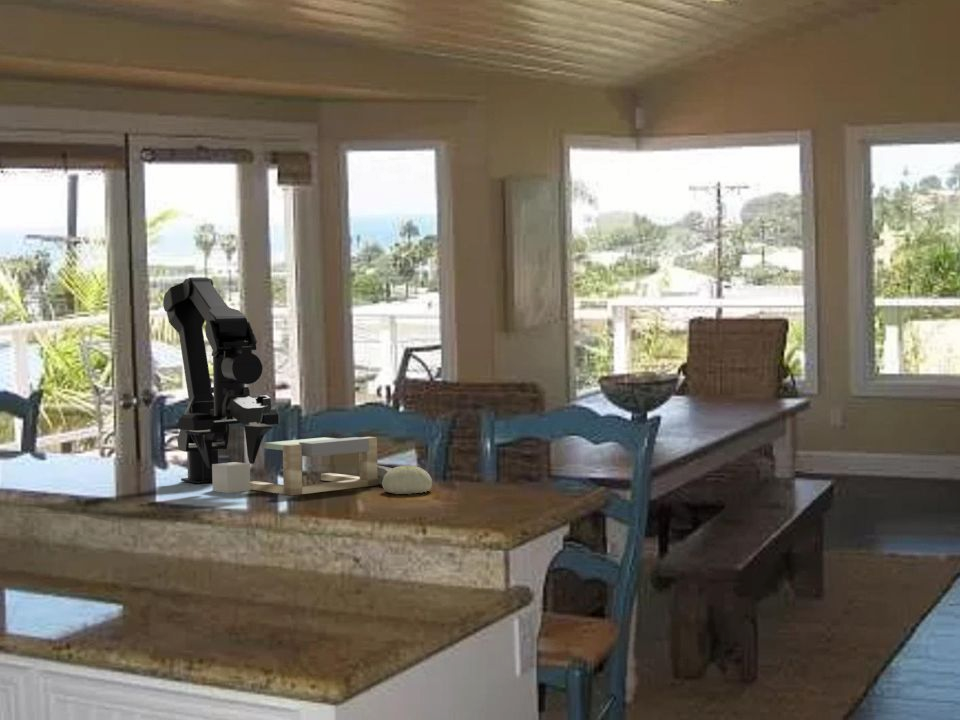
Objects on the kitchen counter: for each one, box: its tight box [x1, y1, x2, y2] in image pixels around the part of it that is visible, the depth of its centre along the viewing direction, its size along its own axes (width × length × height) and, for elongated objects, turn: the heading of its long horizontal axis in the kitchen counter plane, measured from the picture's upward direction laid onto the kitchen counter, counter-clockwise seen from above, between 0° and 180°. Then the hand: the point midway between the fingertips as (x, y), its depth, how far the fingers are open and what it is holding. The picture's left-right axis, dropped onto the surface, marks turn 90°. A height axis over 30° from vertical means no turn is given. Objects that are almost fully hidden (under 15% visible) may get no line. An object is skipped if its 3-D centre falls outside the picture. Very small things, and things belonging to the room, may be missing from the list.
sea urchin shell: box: [381, 465, 433, 495], centre depth 282 cm, size 9×8×8 cm
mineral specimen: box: [377, 464, 393, 485], centre depth 294 cm, size 6×12×4 cm, turn 34°
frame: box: [250, 436, 379, 496], centre depth 291 cm, size 15×20×9 cm
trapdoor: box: [263, 436, 369, 458], centre depth 290 cm, size 15×14×2 cm
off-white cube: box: [211, 461, 251, 494], centre depth 288 cm, size 5×5×5 cm
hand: (230, 465), depth 288 cm, fingers open, 9 cm apart
